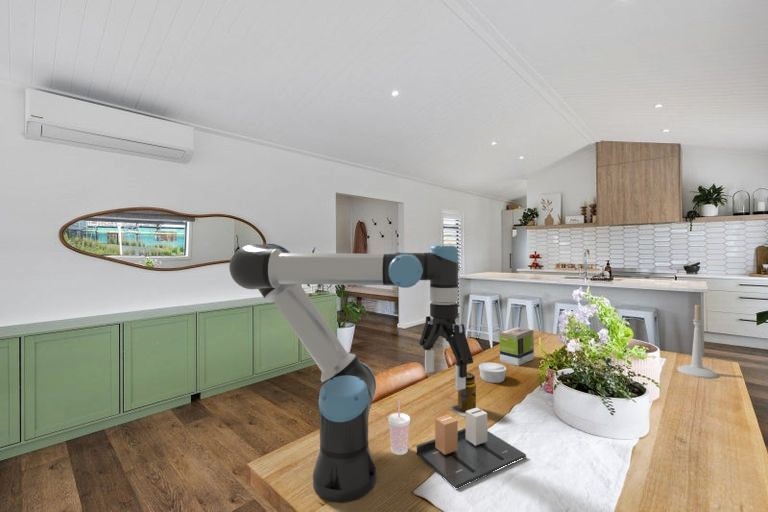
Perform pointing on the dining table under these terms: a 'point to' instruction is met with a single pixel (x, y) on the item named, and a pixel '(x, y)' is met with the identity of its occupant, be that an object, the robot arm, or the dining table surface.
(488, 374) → the ramekin
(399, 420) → the beverage cup
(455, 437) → the fader terracotta
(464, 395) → the condiment
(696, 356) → the candlestick
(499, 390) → the dining table surface
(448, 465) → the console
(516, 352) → the tea box
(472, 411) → the fader ivory
